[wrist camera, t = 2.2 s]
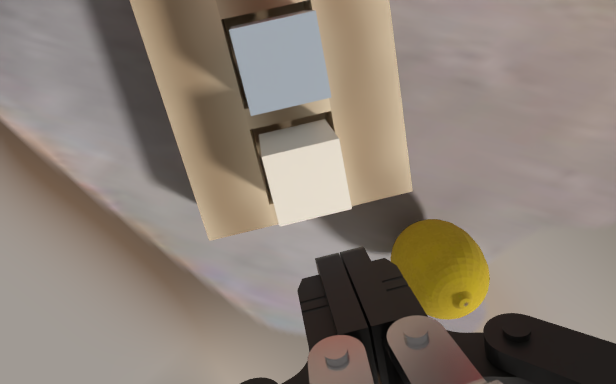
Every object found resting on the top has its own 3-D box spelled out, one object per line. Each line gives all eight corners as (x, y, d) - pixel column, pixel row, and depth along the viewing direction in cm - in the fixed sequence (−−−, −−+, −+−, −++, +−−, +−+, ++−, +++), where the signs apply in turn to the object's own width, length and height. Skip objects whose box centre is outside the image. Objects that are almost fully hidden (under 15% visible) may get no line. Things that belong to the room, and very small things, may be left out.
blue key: (303, 10, 22) (315, 10, 18) (317, 83, 24) (331, 97, 20) (231, 26, 22) (228, 29, 18) (250, 99, 23) (250, 116, 20)
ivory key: (324, 119, 24) (338, 138, 21) (336, 180, 26) (352, 208, 22) (258, 134, 24) (261, 156, 20) (274, 195, 26) (279, 226, 22)
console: (346, -158, 23) (366, -190, 19) (391, 168, 30) (412, 191, 26) (111, -110, 22) (85, -133, 19) (213, 212, 29) (209, 240, 26)
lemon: (402, 284, 34) (447, 361, 26) (362, 232, 32) (398, 300, 24) (466, 241, 33) (530, 308, 26) (428, 185, 31) (486, 240, 23)
